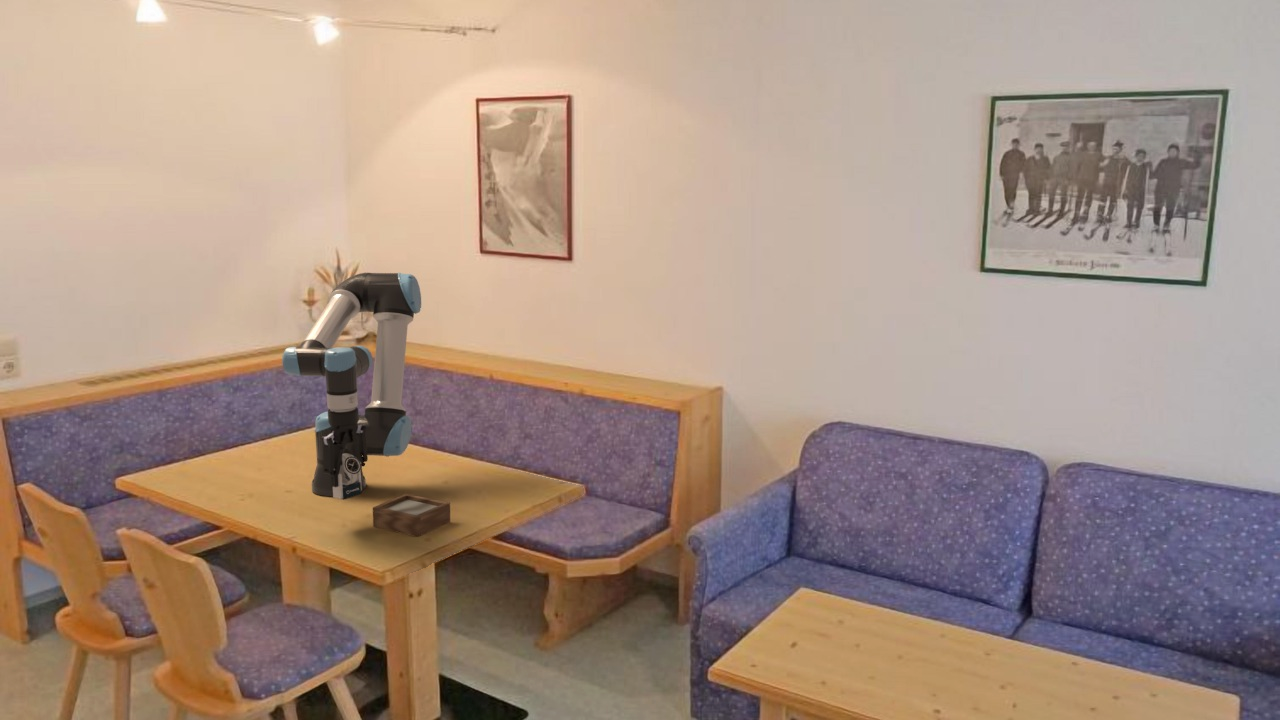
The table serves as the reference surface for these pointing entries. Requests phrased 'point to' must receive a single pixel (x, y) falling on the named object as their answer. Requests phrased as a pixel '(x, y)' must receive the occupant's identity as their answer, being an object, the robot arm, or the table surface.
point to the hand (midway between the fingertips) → (347, 493)
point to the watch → (350, 475)
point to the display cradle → (411, 515)
